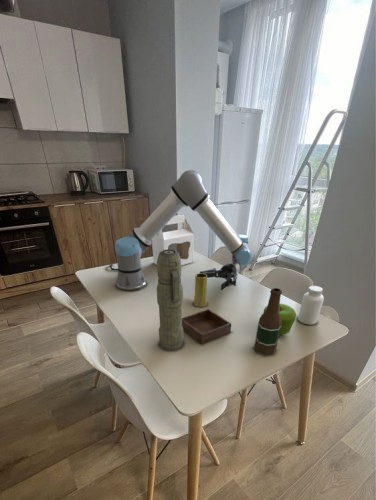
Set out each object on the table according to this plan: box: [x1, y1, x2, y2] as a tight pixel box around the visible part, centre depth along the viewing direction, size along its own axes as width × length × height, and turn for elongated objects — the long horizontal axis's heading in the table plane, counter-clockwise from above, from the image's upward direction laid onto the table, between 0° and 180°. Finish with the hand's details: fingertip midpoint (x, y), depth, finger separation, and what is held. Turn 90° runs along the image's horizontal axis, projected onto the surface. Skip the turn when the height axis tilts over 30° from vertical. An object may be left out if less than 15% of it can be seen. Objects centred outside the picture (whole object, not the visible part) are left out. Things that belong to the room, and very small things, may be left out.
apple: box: [262, 303, 297, 336], centre depth 113 cm, size 12×12×11 cm
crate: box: [182, 308, 232, 345], centre depth 115 cm, size 15×15×4 cm
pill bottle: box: [297, 285, 325, 326], centre depth 119 cm, size 8×8×15 cm
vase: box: [193, 272, 208, 308], centre depth 131 cm, size 6×6×14 cm
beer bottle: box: [254, 287, 283, 356], centre depth 99 cm, size 8×8×24 cm
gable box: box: [151, 213, 195, 266], centre depth 173 cm, size 22×13×28 cm, turn 126°
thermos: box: [156, 248, 184, 352], centre depth 98 cm, size 9×12×35 cm
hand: (209, 283), depth 136 cm, fingers open, 13 cm apart
